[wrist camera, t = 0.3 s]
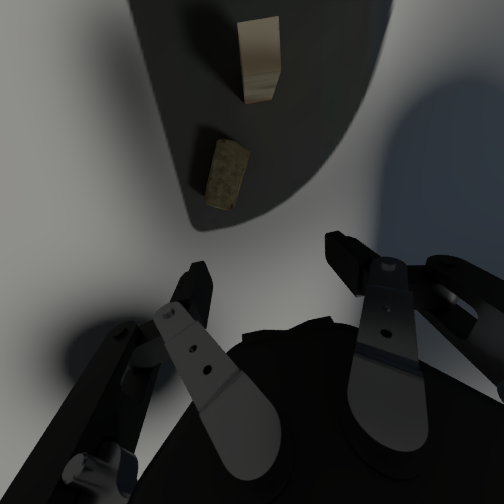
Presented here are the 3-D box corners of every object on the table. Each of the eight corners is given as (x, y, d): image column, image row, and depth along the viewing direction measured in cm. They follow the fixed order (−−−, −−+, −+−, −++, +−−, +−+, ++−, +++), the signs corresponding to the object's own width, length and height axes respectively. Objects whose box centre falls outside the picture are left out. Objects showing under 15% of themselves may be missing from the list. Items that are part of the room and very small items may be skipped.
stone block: (207, 200, 38) (201, 204, 33) (220, 138, 33) (216, 132, 29) (235, 209, 38) (233, 214, 34) (251, 149, 34) (252, 145, 29)
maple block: (240, 69, 29) (237, 22, 20) (269, 64, 29) (278, 16, 20) (244, 104, 31) (243, 75, 22) (271, 100, 31) (281, 70, 22)
